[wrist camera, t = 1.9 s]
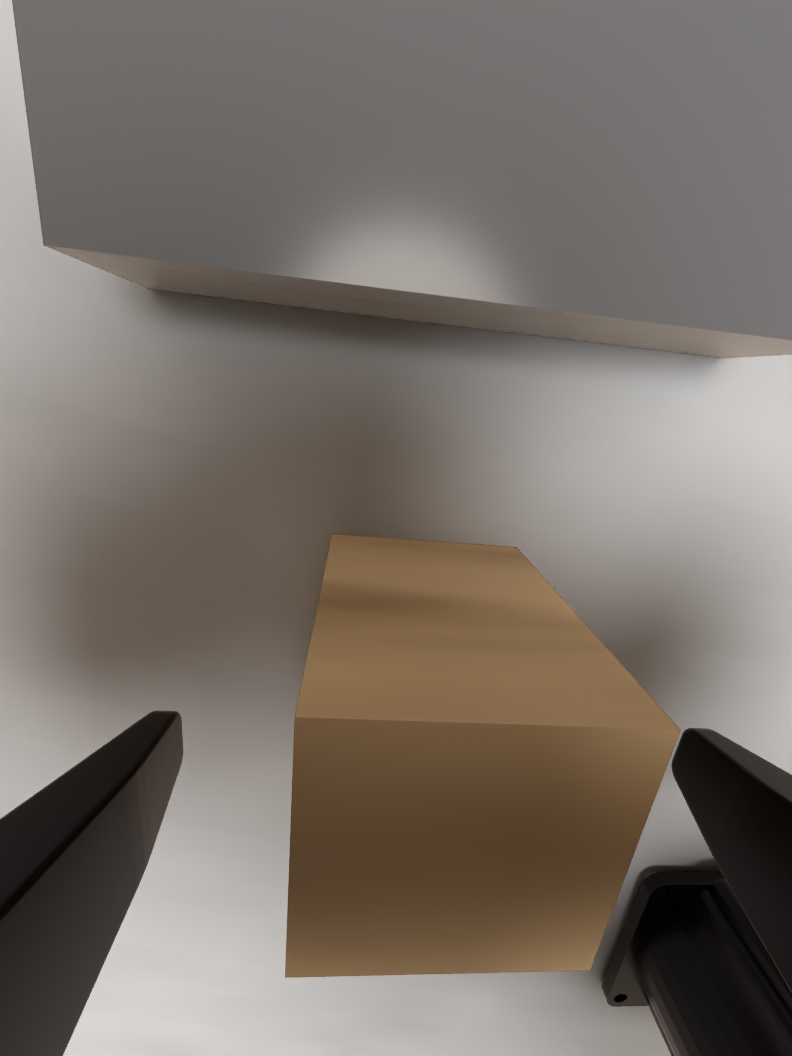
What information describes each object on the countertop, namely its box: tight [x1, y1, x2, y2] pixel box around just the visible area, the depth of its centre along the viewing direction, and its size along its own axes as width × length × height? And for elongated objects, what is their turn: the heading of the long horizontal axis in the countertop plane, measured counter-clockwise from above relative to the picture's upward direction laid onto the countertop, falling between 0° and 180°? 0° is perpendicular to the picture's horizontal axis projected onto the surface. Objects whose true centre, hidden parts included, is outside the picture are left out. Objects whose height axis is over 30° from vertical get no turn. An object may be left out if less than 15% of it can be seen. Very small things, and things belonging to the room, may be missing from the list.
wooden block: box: [285, 534, 680, 977], centre depth 9 cm, size 4×4×6 cm
